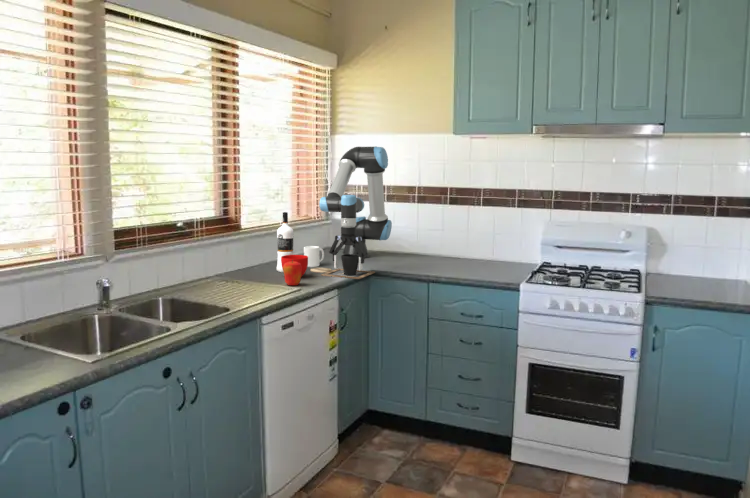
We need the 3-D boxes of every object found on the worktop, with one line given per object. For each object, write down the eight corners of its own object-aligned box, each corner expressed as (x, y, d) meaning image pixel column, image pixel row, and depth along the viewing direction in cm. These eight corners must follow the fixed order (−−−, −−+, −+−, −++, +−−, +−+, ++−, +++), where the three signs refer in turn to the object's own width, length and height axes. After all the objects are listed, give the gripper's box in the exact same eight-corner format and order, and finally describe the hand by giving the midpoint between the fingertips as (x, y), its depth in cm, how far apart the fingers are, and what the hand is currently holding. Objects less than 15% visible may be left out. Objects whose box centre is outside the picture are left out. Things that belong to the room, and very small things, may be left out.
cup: (301, 265, 334) (300, 246, 333) (319, 263, 342) (319, 244, 340) (309, 267, 328) (309, 248, 326) (328, 265, 335) (328, 246, 334)
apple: (280, 284, 285) (279, 258, 283) (296, 282, 290) (296, 257, 288) (288, 287, 278) (288, 261, 276) (305, 285, 283) (305, 259, 281)
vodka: (298, 271, 318) (298, 212, 314) (284, 273, 311) (284, 213, 307) (286, 268, 324) (286, 211, 320) (272, 271, 317) (271, 212, 313)
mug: (350, 271, 318) (350, 252, 317) (361, 275, 308) (361, 255, 307) (335, 272, 314) (335, 253, 313) (346, 276, 304) (346, 257, 303)
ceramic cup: (313, 273, 311) (313, 254, 310) (304, 280, 295) (303, 259, 293) (288, 272, 313) (288, 253, 312) (277, 279, 297) (277, 258, 295)
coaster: (317, 268, 327) (316, 266, 327) (335, 269, 322) (335, 268, 322) (306, 271, 317) (306, 270, 317) (325, 273, 312) (325, 272, 312)
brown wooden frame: (338, 269, 324) (338, 268, 324) (375, 272, 316) (375, 271, 316) (320, 275, 307) (320, 274, 307) (359, 279, 299) (359, 278, 298)
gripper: (322, 225, 309) (322, 268, 312) (368, 228, 299) (368, 272, 302) (329, 224, 316) (329, 265, 319) (374, 227, 306) (374, 269, 309)
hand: (348, 268), depth 311 cm, fingers open, 13 cm apart
